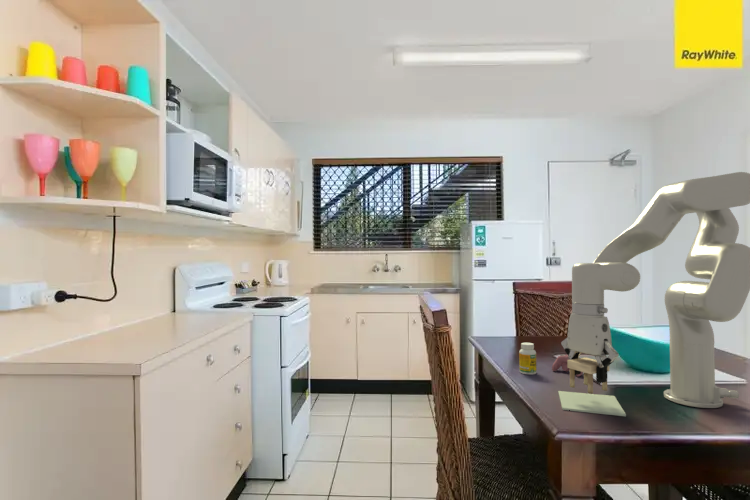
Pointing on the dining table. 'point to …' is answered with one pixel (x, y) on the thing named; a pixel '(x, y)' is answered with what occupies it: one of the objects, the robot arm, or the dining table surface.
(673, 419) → the dining table surface
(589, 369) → the stool
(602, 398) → the mat
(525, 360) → the supplement bottle
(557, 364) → the video game controller
